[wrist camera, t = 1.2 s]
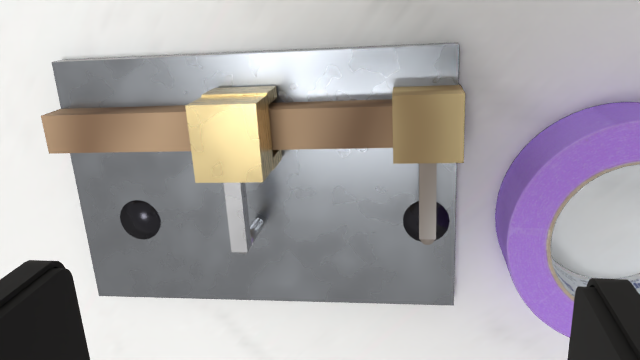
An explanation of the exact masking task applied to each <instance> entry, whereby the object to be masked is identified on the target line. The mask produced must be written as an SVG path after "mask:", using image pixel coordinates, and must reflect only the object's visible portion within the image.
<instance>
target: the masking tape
mask: <svg viewBox="0 0 640 360" xmlns="http://www.w3.org/2000/svg"><path fill="white" fill-rule="evenodd" d="M637 164H640V103H639V102H620V103H609V104H603V105H598V106H594V107H591V108H587V109H584V110H581V111H579V112H576V113H573V114H571V115H569V116H567V117H565V118H563V119H561V120H559V121H557V122H556V123H554V124H552V125H551V126H549V127H547V128H546V129H545V130H543V131H542V132H541V133H539V134H538V135H537V136H536V137H535V138H534V139H532V140H531V141H530V142H529V143H528V144H527V145H526V146H525V148H524V149H523V150H522V151H521V152H520V153H519V155H518V156H517V157H516V158H515V160H514V161H513V163H512V164H511V166H510V168H509V170H508V171H507V173H506V175H505V177H504V180H503V182H502V185H501V188H500V191H499V194H498V198H497V204H496V213H495V220H496V232H497V237H498V241H499V244H500V247H501V250H502V253H503V256H504V258H505V261H506V264H507V267H508V269H509V272H510V275H511V278H512V280H513V283H514V285H515V287H516V289H517V291H518V293H519V294H520V296H521V298H522V299H523V301H524V302H525V303H526V305H527V306H528V307H529V308H530V309H531V311H532V312H533V313H534V314H535V315H536V316H537V317H538V318H539V319H541V320H542V321H543V322H544V323H546V324H547V325H548V326H550V327H551V328H553V329H554V330H556V331H558V332H559V333H561V334H563V335H565V336H567V337H569V338H570V334H571V325H572V316H573V307H574V297H575V291H576V289H577V287H578V286H581V287H587V284H588V281H589V280H590V279H591V278H589V277H585V276H582V275H579V274H576V273H573V272H571V271H569V270H567V269H565V268H564V267H562V266H561V265H559V264H558V263H557V262H555V261H554V260H553V259H552V257H551V237H552V232H553V229H554V225H555V223H556V220H557V218H558V216H559V214H560V213H561V211H562V209H563V208H564V206H565V205H566V203H567V202H568V201H569V200H570V199H571V198H572V197H573V196H574V195H575V194H576V193H577V192H578V191H579V190H580V189H581V188H582V187H583V186H585V185H586V184H588V183H589V182H590V181H592V180H594V179H595V178H597V177H599V176H601V175H603V174H605V173H608V172H610V171H612V170H615V169H619V168H622V167H626V166H631V165H637ZM618 279H626V280H629V281H630V282H631V283H632V285H633V286H634V287H635V289H636V290H637V291H638V293H639V294H640V273H639V274H636V275H633V276H629V277H624V278H618Z"/></svg>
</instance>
